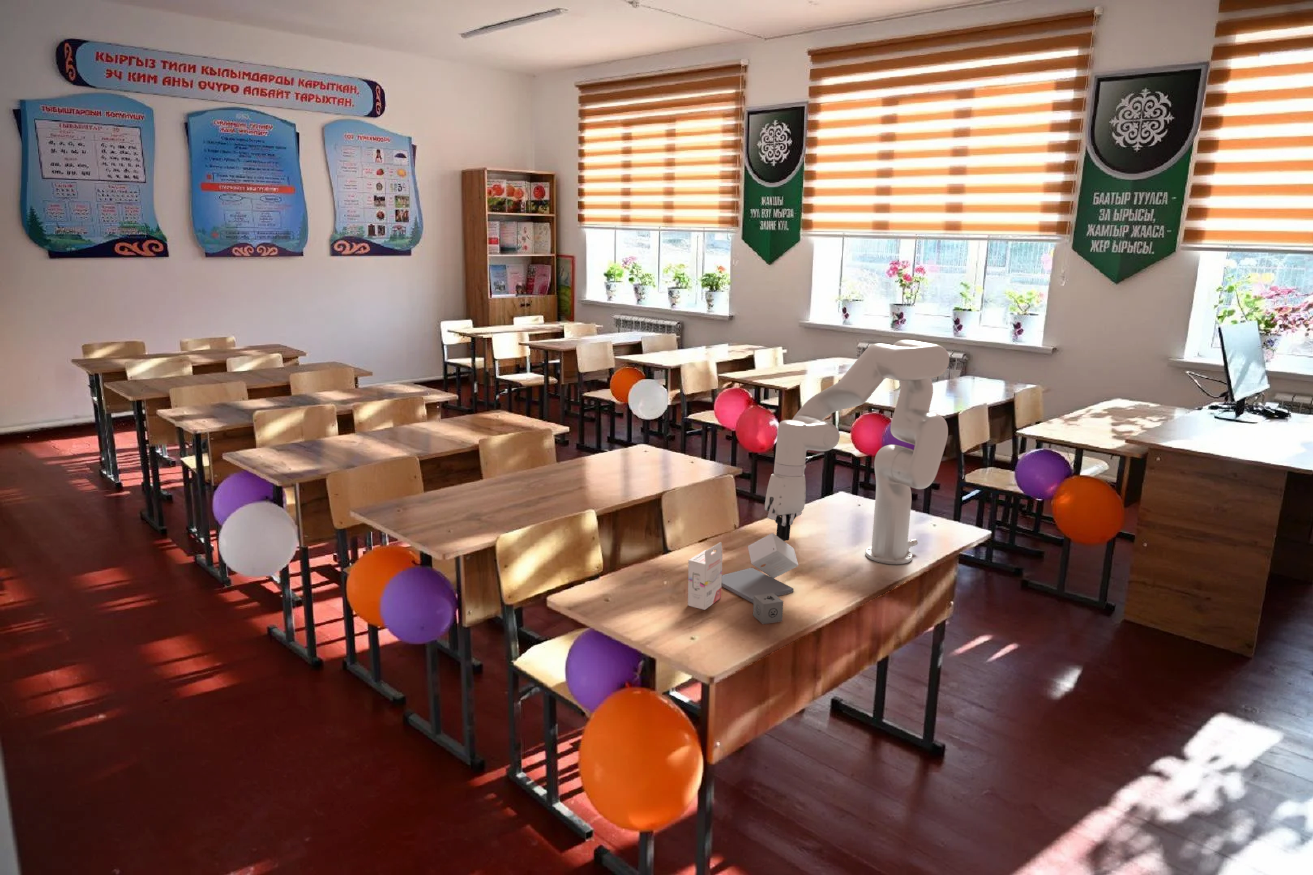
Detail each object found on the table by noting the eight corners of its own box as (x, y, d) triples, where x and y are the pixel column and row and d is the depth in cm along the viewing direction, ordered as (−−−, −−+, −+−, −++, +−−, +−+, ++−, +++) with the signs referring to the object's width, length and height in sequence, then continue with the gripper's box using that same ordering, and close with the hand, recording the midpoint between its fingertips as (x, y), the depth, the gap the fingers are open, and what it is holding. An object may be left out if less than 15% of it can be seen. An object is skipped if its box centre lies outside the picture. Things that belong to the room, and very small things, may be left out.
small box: (794, 548, 223) (773, 531, 216) (799, 566, 219) (777, 550, 212) (768, 561, 226) (746, 545, 219) (772, 579, 222) (750, 563, 216)
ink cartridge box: (703, 593, 213) (705, 537, 210) (721, 598, 211) (723, 541, 207) (686, 605, 206) (687, 547, 203) (704, 610, 204) (706, 551, 200)
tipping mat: (751, 571, 228) (751, 567, 228) (793, 591, 215) (793, 588, 215) (712, 581, 221) (712, 577, 221) (753, 603, 208) (753, 599, 208)
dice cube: (782, 621, 199) (783, 601, 198) (762, 624, 197) (763, 604, 196) (772, 612, 203) (773, 592, 202) (752, 615, 202) (753, 595, 200)
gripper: (800, 463, 224) (793, 531, 228) (756, 468, 216) (750, 538, 219) (821, 470, 218) (814, 539, 222) (777, 476, 210) (770, 547, 213)
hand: (782, 538), depth 221 cm, fingers closed
